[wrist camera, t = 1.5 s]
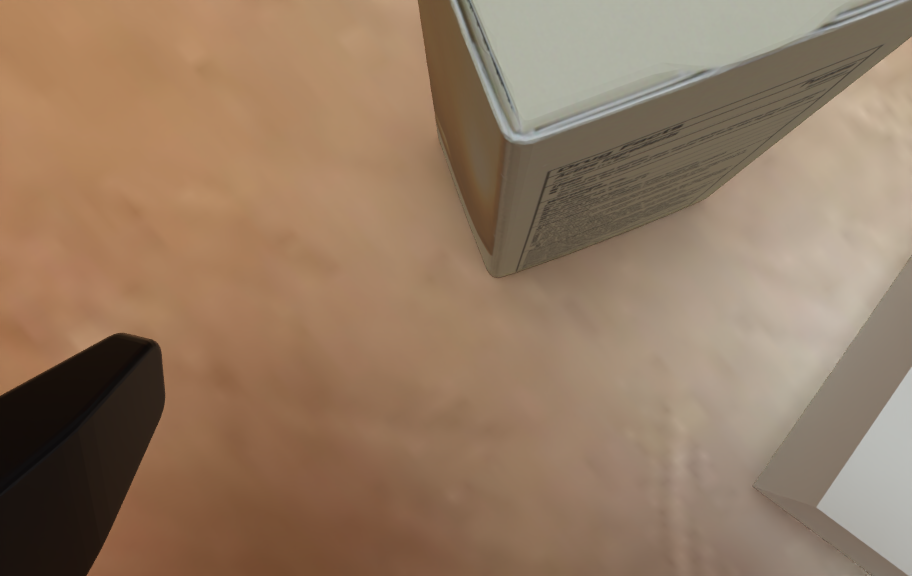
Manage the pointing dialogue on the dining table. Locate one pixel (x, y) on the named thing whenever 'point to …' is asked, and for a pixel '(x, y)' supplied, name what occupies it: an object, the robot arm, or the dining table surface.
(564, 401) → the dining table surface
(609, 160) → the skincare box
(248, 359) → the dining table surface
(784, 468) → the grey block
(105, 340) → the robot arm
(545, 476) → the dining table surface
